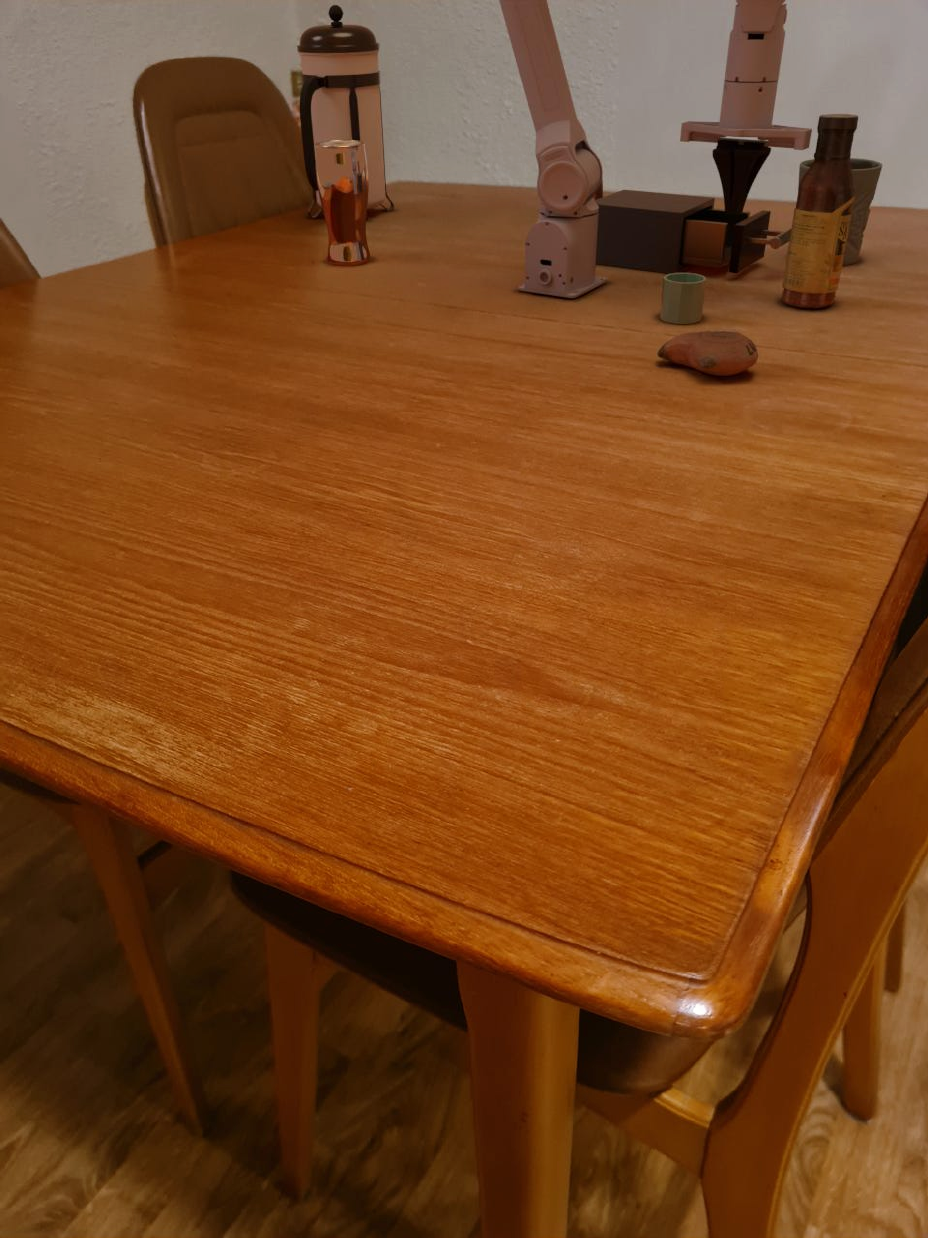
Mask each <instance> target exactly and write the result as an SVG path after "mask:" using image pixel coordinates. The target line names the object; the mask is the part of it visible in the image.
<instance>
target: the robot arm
mask: <svg viewBox="0 0 928 1238" xmlns="http://www.w3.org/2000/svg"><path fill="white" fill-rule="evenodd" d="M498 1H499V4H500V7H501V9H500V10H501V12H502V15H503V19H504V23H505V27H506V30H507V33H508V37H509V40H510V44H511V48H512V52H513V56H514V59H515V63H516V66H517V69H518V73H519V76H520V80H521V84H522V88H523V91H524V94H525V98H526V102H527V106H528V109H529V113H530V116H531V121H532V124H533V127H534V131H535V150H534V151H535V152H534V154H535V159H536V162H537V166H538V172H537V173H538V174H537V180H536V191H537V195H538V198H539V200H540V202H541V204H540V205H539V214H538V219H537V221H536V222H535V223H534V225H532V226H531V227H530V228H529V231H528V232H527V234H526V238H525V251H524V255H525V256H524V257H525V258H524V262H525V263H524V283H523V284H521V285H519V286H518V291H520V292H527V293H532V294H540V295H547V296H553V297H560V298H566V299H576V298H578V297H580V296H583V295H584V294H585V293H588V292H590V291H592V290H594V289H596V288H598V287H600V286H602V285H604V284H606V283H607V282H608V278H607V277H604V276H596V265H597V264H596V249H597V231H598V214H599V212H598V211H599V206H598V205H597V204H596V202H595V200H594V197H593V194H594V193H595V192H596V191H597V190H598V188H599V186H600V184H601V181H602V178H603V176H604V175H603V171H604V170H603V164H602V161H601V159H600V157H599V156H598V155H597V153H596V152H595V151H594V150H593V149H592V147H591V146H590V144H589V141H588V139H587V135H586V131H585V129H584V128H583V126H582V124H581V122H580V121H579V118H578V116H577V113H576V109H575V105H574V100H573V98H572V97H573V96H572V93H571V90H570V86H569V85H570V84H569V82H568V78H567V73H566V71H565V66H564V62H563V59H562V54H561V50H560V47H559V43H558V39H557V35H556V31H555V28H554V23H553V19H552V16H551V11H550V8H549V4H548V0H498ZM735 2H736V3H737V4H735V6H734V7H735V8H734V16H733V24H732V29H731V31H730V33H729V39H728V45H727V46H728V47H727V56H726V62H725V63H726V64H725V71H724V80H723V81H724V82H723V89H722V97H721V104H720V105H721V106H720V112H719V113H720V114H719V121H693V120H688V121H685V122H682V123H681V125H680V126H681V127H680V138H679V141H680V142H685V143H689V142H696V143H697V142H699V143H711V144H716V146H715V148H713V149H712V159H713V161H714V163H715V166H716V168H717V172H718V175H719V178H720V183H721V188H722V189H721V190H722V194H723V203H724V204H723V205H724V209H725V214H726V215H738V214H741V213H742V212H743V211H744V208H745V205H746V201H747V199H748V196H749V194H750V191H751V189H752V187H753V184H754V182H755V180H756V179H757V176H758V174H759V172H760V170H761V169H762V167H763V165H764V164H765V163H766V160H767V159H768V157H769V156H770V154H771V152H772V148H780V149H781V148H782V149H793V150H795V151H804V150H807V149H809V148H810V144H811V138H812V132H813V128H809V127H799V126H798V127H797V126H788V125H781V124H780V125H779V124H773V119H774V112H775V105H776V98H777V91H778V85H779V78H780V72H781V64H782V58H783V51H784V44H785V39H786V37H785V36H786V31H785V28H784V25H785V24H786V22H787V17H788V9H787V3H785V2H786V0H735ZM746 138H757V139H746Z"/></svg>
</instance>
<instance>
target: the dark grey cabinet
mask: <svg viewBox="0 0 928 1238" xmlns="http://www.w3.org/2000/svg"><path fill="white" fill-rule="evenodd" d="M715 199H716V198H715V197H712V196H710V197H709V196H699V195H690V194H689V195H688V194H677V193H667V192H654V191H646V190H645V191H643V190H635V189H634V190H632V189H622V190H619V191H616V192H614V193H611V194H608V195H606V196H603V197H602V198H600V199H597V200H595V202H596V204H597V205H598V206H599V211H598V212H599V214H598V231H597V249H596V265H603V266H610V267H618V268H624V269H625V268H626V269H632V270H639V271H640V270H641V271H648V272H654V273H661V274H672V273H681V272H682V271H684V270H686V269H688V268H689V267H691V266H693V265H694V264H687V263H679V257H680V248H681V238H682V229H683V218H685V217H687V216H689V215H691V214H694V213H696V212H698V211H700V210H702V209H704V208H714V209H715V202H716V200H715Z"/></svg>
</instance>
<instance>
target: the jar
mask: <svg viewBox="0 0 928 1238" xmlns="http://www.w3.org/2000/svg"><path fill="white" fill-rule="evenodd" d="M662 278H663V279H662V286H661V287H662V288H661V289H662V290H661V298H660V308H659V315H660V318H659V319H660V320H661V321H663V322H666V323H669V324H674V325H691V324H697V323H699V322H700V321H701V320H702V317H703V311H704V303H705V297H706V296H705V295H706V288H707V287H706V286H707V278H706V276H704V275H702V274H698V273H692V272H679V273H672V274H670V273H666V275H664V276H663V277H662Z"/></svg>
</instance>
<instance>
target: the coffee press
mask: <svg viewBox="0 0 928 1238" xmlns="http://www.w3.org/2000/svg"><path fill="white" fill-rule="evenodd" d="M344 13H345V12H343V9H342V7H341V6H340V5H338V4H333V5H331V6H330V7H329V9H328V13H327V14H328V17H329V18H330V20H331V22H330V24H325V25H315V26H312V27H308V28H307V29H306V30H304V31H303V33H301V35H300V38H299V44H298V45H296V49H297V52H298V55H300V57H299V58H300V65H301V72H300V79H301V80H300V81H301V89H300V94H299V122H300V123H299V124H300V133H301V143H302V151H303V161H304V168H305V173H306V178H307V180H308V183H309V185H310V187H311V190H312V201H311V203H310V205H309V207H308V209H307V215H308V216H309V217H310V218H311V219H316V218H317V219H318V217H319V216H320V214H321V213H323V209H322V205H321V201H320V196H319V192H318V185H317V176H316V147H315V144H316V143H318V142H322V141H330V140H359V141H363V142H364V143H365V152H366V159H367V167H368V181H369V192H368V206H367V210H371V209H375V208H378V207H380V206H381V208H383V209H384V210H385V211H387V212H392V211H393V210H394V208H395V204H394V203H393V201H392V200H391V199H390V197H389V195H388V193H387V181H386V179H387V178H386V164H385V163H386V162H385V148H384V147H385V146H384V145H385V144H384V128H383V112H382V111H383V109H382V96H381V87H380V84H382V83H381V82H382V81H381V71H380V70H379V56H378V55H379V52H380V43H379V42H377V38H376V36H375V33H374V32H373V31H372V30H371V29H370V28H368V27H366V26H364V25H359V24H344V23H343V22H342V21H341V20H342V19H343V16H344ZM386 199H387V200H388V202H389V203H390V207H389V208H386V207H385V206H384V202H385V200H386ZM315 204H316V205H317V206H318V207H320V208H319V209H318V210H317V211H316V213H315V214H314V215H311V212H312V210H313V208H314V206H315ZM368 215H369V214H367V217H366V222H367V221H369V217H368Z"/></svg>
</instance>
